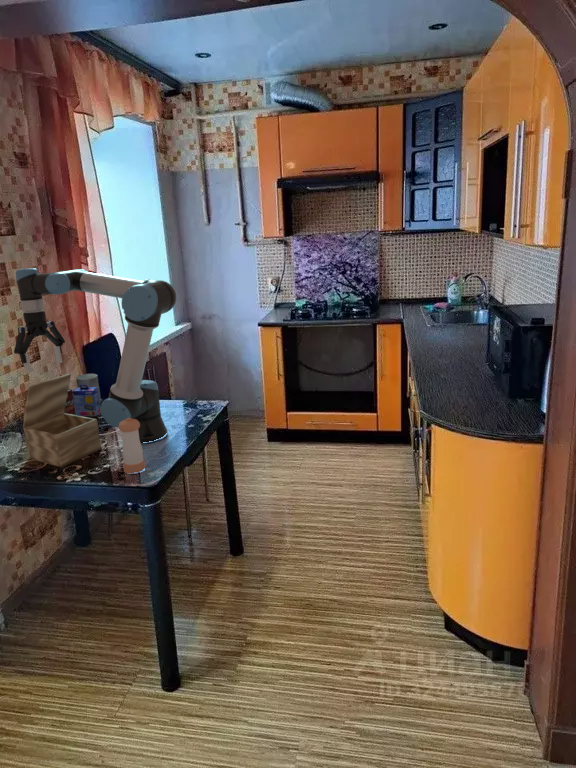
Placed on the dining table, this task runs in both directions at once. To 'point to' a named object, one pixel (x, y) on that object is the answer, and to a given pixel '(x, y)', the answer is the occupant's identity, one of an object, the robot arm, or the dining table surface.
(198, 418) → the dining table surface
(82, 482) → the dining table surface
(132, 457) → the salt shaker
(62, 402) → the lid flap
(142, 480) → the dining table surface
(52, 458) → the wooden box
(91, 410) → the ink cartridge box
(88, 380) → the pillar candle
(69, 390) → the supplement box
